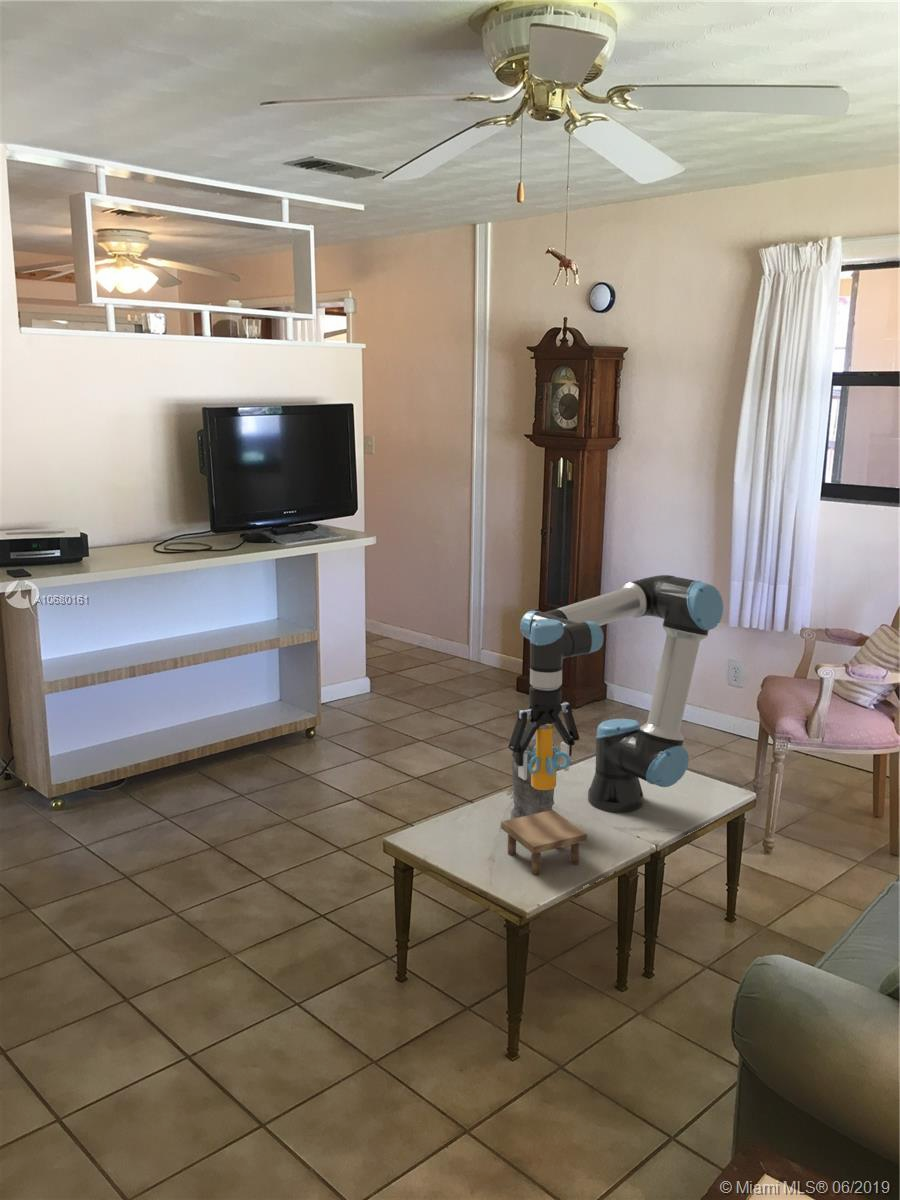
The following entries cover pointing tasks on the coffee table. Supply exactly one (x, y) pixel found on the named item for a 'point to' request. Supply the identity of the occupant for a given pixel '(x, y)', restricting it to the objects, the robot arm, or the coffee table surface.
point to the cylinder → (545, 760)
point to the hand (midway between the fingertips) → (543, 773)
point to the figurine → (529, 790)
